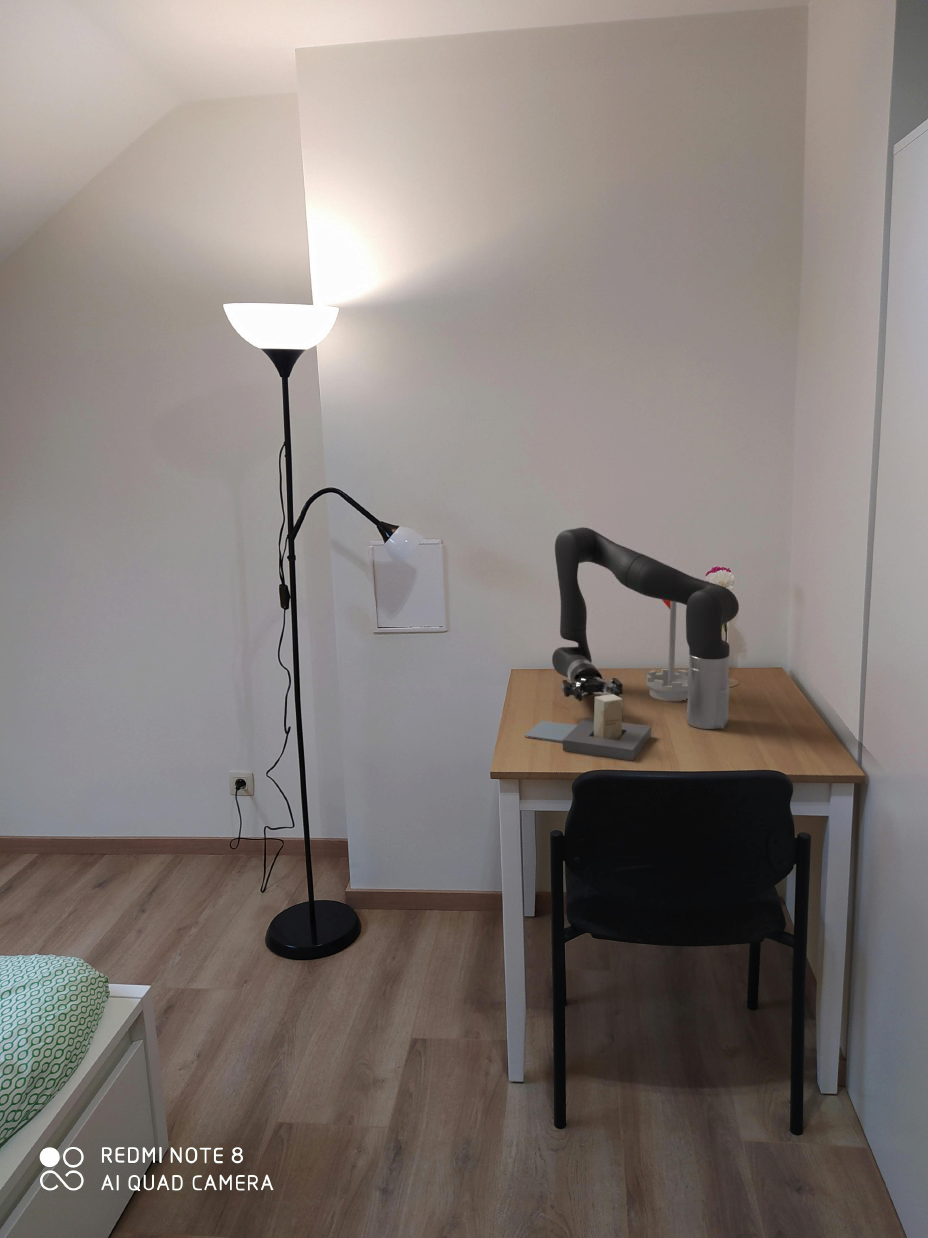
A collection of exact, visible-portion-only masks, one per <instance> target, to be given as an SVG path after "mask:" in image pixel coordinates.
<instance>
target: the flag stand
mask: <svg viewBox="0 0 928 1238" xmlns="http://www.w3.org/2000/svg"><path fill="white" fill-rule="evenodd" d="M661 600H662V599H661ZM662 602H663V603H664V604H665V605H666V607H667V608H668V610H670V611H669V613H670V614H669V618H670V619H669V640H668V642H669V645H668V668H661V670H660V671H661V672H659V673H657V671H656V670H654V669H653V670H650V671H648V673H647V674H646V675H645V684H646V686H647V687H649V696H650V695H651V696H652V697H651V696H650V697H651V698H653V697H654V699H655V698H657V699H656V700H658V699H659V701H663V700H664V701H666V702H683V701H682V700H684V701H687V700H686V699H688V674H689V670H683V669H679V670H678V673H677V672H675V667H676V666H675V661H676V658H675V657H676V631H677V630H676V627H677V623H676V622H677V604H678V602H674V601H668V600H662Z"/></svg>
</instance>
